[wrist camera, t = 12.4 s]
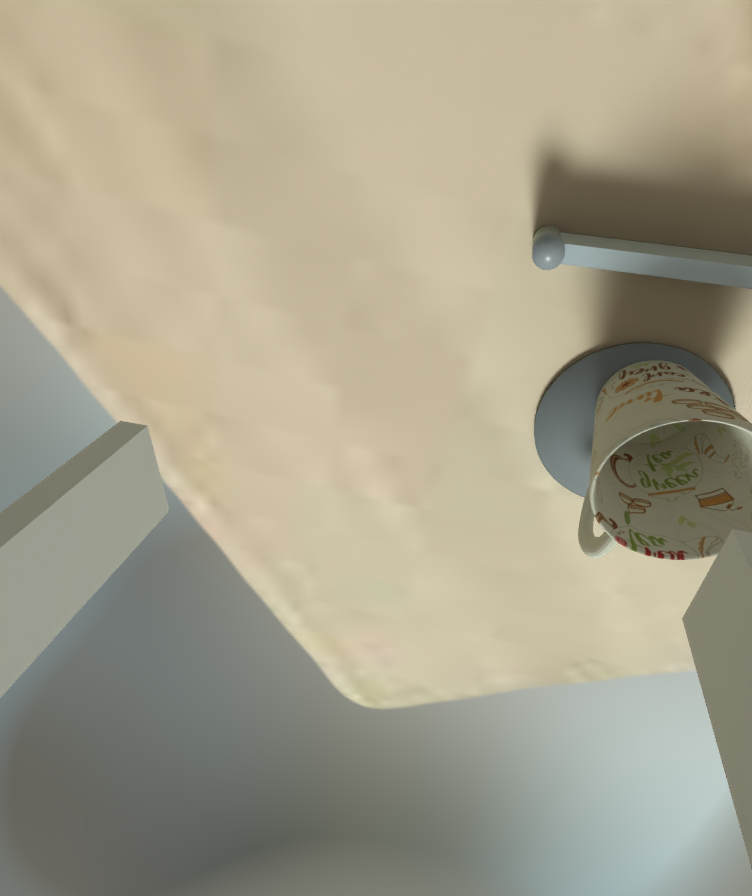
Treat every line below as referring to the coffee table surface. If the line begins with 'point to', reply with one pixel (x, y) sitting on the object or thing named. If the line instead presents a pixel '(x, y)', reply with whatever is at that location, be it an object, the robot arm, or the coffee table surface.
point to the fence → (640, 258)
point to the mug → (666, 466)
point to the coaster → (574, 403)
